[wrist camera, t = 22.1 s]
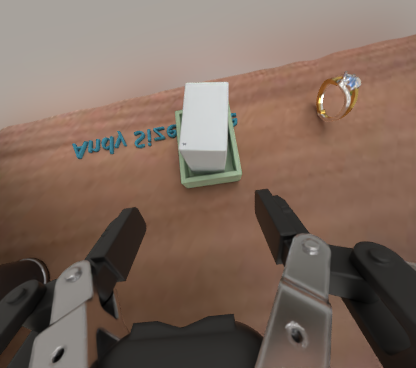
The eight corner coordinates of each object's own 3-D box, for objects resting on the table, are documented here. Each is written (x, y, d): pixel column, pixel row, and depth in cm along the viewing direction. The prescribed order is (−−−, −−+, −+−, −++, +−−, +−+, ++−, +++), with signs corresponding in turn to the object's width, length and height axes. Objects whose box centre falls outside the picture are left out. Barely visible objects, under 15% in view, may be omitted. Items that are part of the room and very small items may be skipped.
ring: (305, 101, 31) (334, 62, 23) (321, 98, 31) (355, 57, 23) (316, 131, 29) (351, 100, 21) (333, 128, 29) (374, 95, 21)
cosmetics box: (225, 175, 28) (227, 151, 18) (192, 174, 29) (175, 150, 19) (227, 125, 30) (229, 79, 20) (195, 126, 31) (182, 81, 21)
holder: (187, 188, 29) (181, 183, 25) (180, 124, 32) (174, 111, 28) (239, 180, 29) (242, 174, 24) (227, 116, 32) (228, 101, 28)
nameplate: (75, 141, 34) (73, 161, 33) (71, 139, 34) (70, 160, 32) (234, 110, 32) (239, 131, 31) (235, 108, 31) (239, 129, 30)
